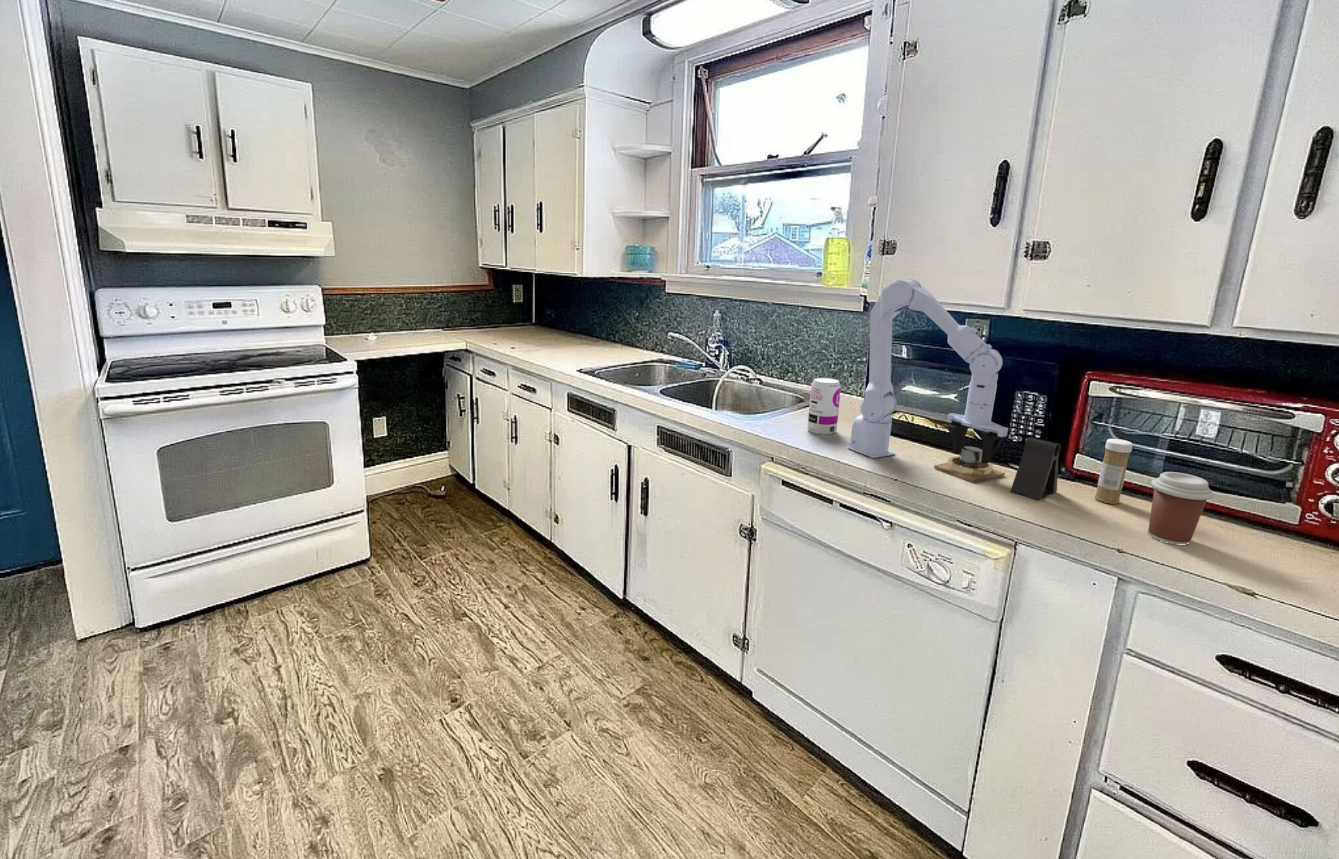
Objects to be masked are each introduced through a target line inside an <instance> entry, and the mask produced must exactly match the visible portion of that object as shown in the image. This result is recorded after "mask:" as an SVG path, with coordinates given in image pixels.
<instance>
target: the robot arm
mask: <svg viewBox="0 0 1339 859" xmlns="http://www.w3.org/2000/svg"><path fill="white" fill-rule="evenodd" d="M906 308H907V309H909V310H914V311H918V312H922V313H924V314H925V315H926V316H927V317H928V318H929V319H930V320H931V321H932V322H934V323H935V324H936V325H937V326H938V327H939V328H940V329H941V330H942V331H943V332H944V333H945V334H946V335H947V344H948V345H949V346H950V347H951V348H952V349H953V351H955V352H956V353H957V354H958V355H959V356H960V357H961V358H962V360H964V361H965V362H966V363H968V364H969V370H970V372H971V377H970V382H969V385H968V392H967V398H966V403H965V404H966V405H965V410H964V414H958V413H948V416H947V422H948V423H949V424H947V425H946V428H947V430H948V432H949V435H950V439H951V443H952V450H953V451H952V452H953V455H958V454H961V448H962V447H964V445H965V439H966V435H967V433H968V431H969V428H972V429H974V430H975V429H976V430H978V431H982V432H985V433H984V434H981V441H982V450H983V451H982V457H981V463H983V464H985V463H991V460H992V458H993V455H994V453H995V452H996V451H997V449H998V447H999V445H1001V443H1002V442H1003V441H1004V440H1005V439H1006V437H1008V436H1007V435H1008V432H1009V427H1005V426H1002V425H1001V424H998V423H995V422H993V421H992V417H993V410H994V405H995V400H996V393H997V389H998V388H997V387H998V383H997V382H998V379H999V373H998V372H999V371H1000V370H1001V368H1002V366H1003V358H1002V355H1001V354H1000V353H999V351H998V350H996V349H993V346H992V345H991V344H990V343H988V344H987V343H986V342H985V341H984V340H983V339H982V338H981V337H980V336H979V335H978V334H977V332H978V330H977V329H976V328H975V327H970V326H969V325H967V324H966V325H961V324H959V323H958V322H957V321H956V319H954V317H953V316H952V315H951V314H950V313H949V312H948V311H947V309H945V307H944V306H943V305H942V304H941V303H940V302H939V301H938V299H936V297H935V296H934V295H933V294H932V293H931V291H929V290H928V289H927V288H925V287H924V286H922V285H921V284H920V281H917V280H915V279H912V278H910V279H908V278H907V279H904V280H903V279H897V280H893V281H892V282H890V283H889V284H888V285H886V286H885V287H884V288H883V289H882V290H881V293H880V295H879V297H878V298H877V299H876V302H875V304H874V306H872V308H871V311H870V318H869V320H870V322H869V323H870V324H869V325H870V326H869V327H870V328H869V361H868V362H869V365H868V366H869V367H868V368H869V373H868V375H869V376H868V384H867V387H866V388H865V390H864V398H863V400H862V402H861V405H860V412H861V415H858V416H857V417H856V418H854V420H853V423H852V425H851V433H850V434H851V435H850V436H851V437H850V443H849V446H847V449H850V450H852V451H854V452H857V453H859V454H862V455H865V456H867V457H870V458H871V459H876V458H882V457H887V456H894V455H896V452H895V451H893V450H890V449H889V446H890V440H891V433H892V422H893V418H892V414H893V413H894V411H895V410H896V408H897V404H898V402H897V398H896V397H895V394H894V386H893V384H892V382H891V380H892V377H891V376H892V373H891V372H892V348H893V346H892V342H893V319H894V318H895V317H897V315H899V314H900V313H901V312H902V311H903V310H904V309H906Z"/></svg>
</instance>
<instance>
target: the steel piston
mask: <svg viewBox="0 0 1339 859" xmlns="http://www.w3.org/2000/svg"><path fill="white" fill-rule="evenodd" d="M982 451H983V448H979V447H976V446H975V447H974V446H969V445H968V446H967V445H965V446H963V447H962V448H961V453H960V455H959V456H960V460H959V465H960V466H963V467H969V468H980V464H981V457H982Z"/></svg>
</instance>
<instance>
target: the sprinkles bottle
mask: <svg viewBox="0 0 1339 859" xmlns="http://www.w3.org/2000/svg"><path fill="white" fill-rule="evenodd" d="M1133 445H1134V444H1133V443H1132V442H1131V441H1128V440H1125V439H1120V438H1108V439H1107V440H1106V442H1105V449H1104V450H1105V451H1104V457H1103V460H1102V464H1101V466H1100V467H1101V469H1100V471H1099V472H1100V473H1099V476H1098V477H1099V478H1098V481H1097V487H1096V491H1095V492H1096V493H1095V495H1094V499H1095V500H1096V501H1098V502H1101V503H1103V502H1105V503H1104V504H1108V503H1109V505H1117V504H1119V503H1120V501H1121V500H1120V498H1121V493H1122V489H1123V486H1124V482H1125V478H1126V471H1127V468H1128V462H1129V459H1130V454H1131V452H1132V451H1133Z"/></svg>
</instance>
